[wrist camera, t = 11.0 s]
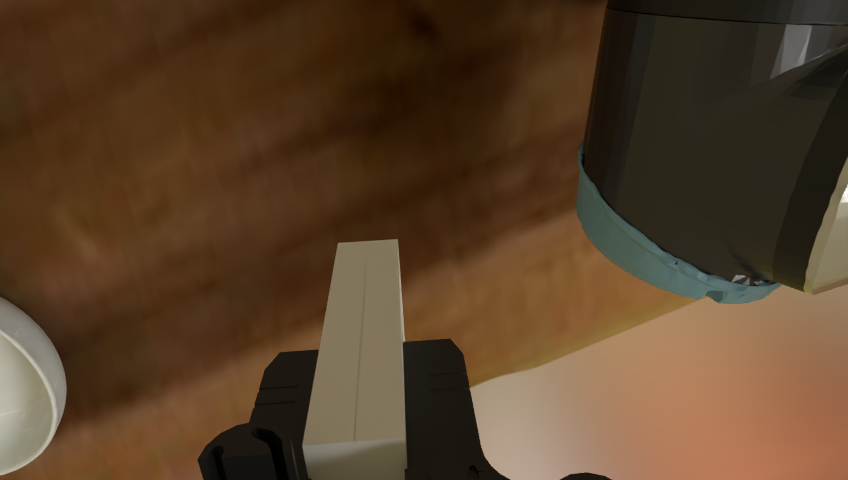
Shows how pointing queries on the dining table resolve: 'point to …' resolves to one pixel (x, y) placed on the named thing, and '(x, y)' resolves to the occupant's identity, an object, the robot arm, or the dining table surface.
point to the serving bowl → (27, 388)
